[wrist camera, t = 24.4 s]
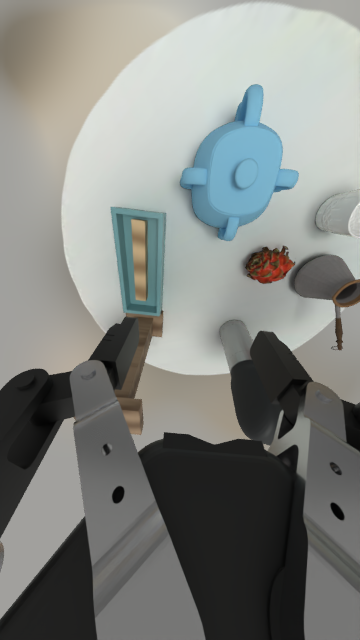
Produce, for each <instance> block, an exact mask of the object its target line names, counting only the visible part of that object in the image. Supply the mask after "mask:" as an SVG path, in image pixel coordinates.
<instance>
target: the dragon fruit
mask: <svg viewBox="0 0 360 640" xmlns="http://www.w3.org/2000/svg"><path fill="white" fill-rule="evenodd" d="M262 249H263V251H262V252H259V253H254V254H252V258H250V260H249V262H248V263H247V264H246V266H245V268H246V269H247V270H248V271H249V272H250V273H248V274H247V277H250V278H251V279H253V280H256V279H257V280H258V281H259V282H260V283H263V284H266V283H272V281H278V280H281V279H283V278H284V277H285V276H286V274H287V272H288V271H289V270H290V269H291V268H292V267H293V266H294V265H295V262H294V263H293V262H292V261H291V260H290V259H289V257H288V253H289V252H286V256H285V255H284V253H285V249H286V250H288V248H287V247H286V246H283V248H282V251H281V252H279V250H278V249H277V248H275V249H273V251H271V250H269V249H268V247H263V248H262Z"/></svg>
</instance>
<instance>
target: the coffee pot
mask: <svg viewBox="0 0 360 640" xmlns="http://www.w3.org/2000/svg"><path fill="white" fill-rule="evenodd" d="M295 289H296V292H297V293H298V294H299V295H301V296H303V297H306V298H316V299H326V300H333V302H334V304H335V312H336V329H335V333H336V336H337V341H336V342H337V343H338V345H337V346H334V347H338V349H333V350H342V349H343V347H342V342H343V341H342V334H343V332H342V324H341V318H340V307H349V306H352V305H355V304H357V303H358V302H360V279H359V280H355V278H354V276H353V275H352V273H351V272H350V270H349V268H348V267H347V265H346V264H345V262H344V261H343V259H342V258H340V257H338V256H335V255H326V256H321V257H318V258H315V259H313V260H311V261H310V262H308V263H307V264H305V265H304V266H303V267H302V268H301V269H300V271H299V272H298V274H297V276H296V278H295ZM332 348H333V347H331V349H332Z"/></svg>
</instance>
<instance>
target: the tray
mask: <svg viewBox="0 0 360 640" xmlns="http://www.w3.org/2000/svg"><path fill="white" fill-rule="evenodd" d="M111 215H112V223H113V231H114V239H115V247H116V255H117V263H118V271H119V279H120V287H121V295H122V303H123V311H124V313H133V314H143V315H152V316H160V314H161V310H162V296H163V274H164V251H165V228H166V213H159V212H151V211H143V210H135V209H127V208H119V207H111ZM131 219H141V220H148V298H147V300H146V301H141V300H136V296H135V278H134V261H133V243H132V226H131Z"/></svg>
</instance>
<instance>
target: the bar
mask: <svg viewBox="0 0 360 640" xmlns="http://www.w3.org/2000/svg"><path fill="white" fill-rule="evenodd" d="M131 226H132V243H133V261H134V278H135V296H136V300H141V301H146V300H147V298H148V220H141V219H131Z"/></svg>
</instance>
